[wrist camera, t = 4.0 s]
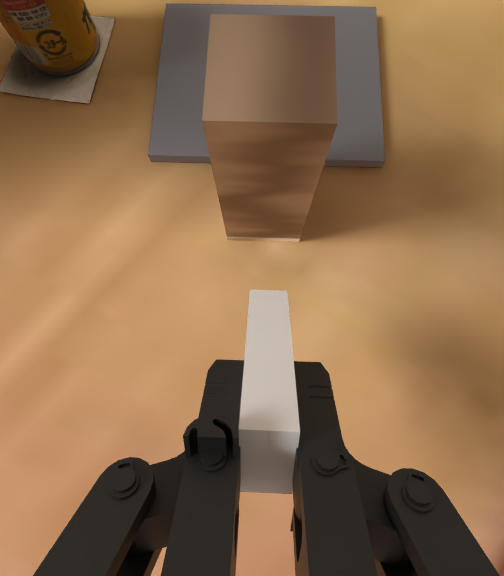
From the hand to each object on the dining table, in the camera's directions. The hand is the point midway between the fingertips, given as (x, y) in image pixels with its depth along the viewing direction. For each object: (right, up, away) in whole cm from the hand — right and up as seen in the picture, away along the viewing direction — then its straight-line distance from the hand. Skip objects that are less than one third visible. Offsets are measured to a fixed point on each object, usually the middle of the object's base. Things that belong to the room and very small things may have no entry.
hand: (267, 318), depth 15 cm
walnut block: (0, +7, +11) cm, 13 cm away
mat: (+1, +17, +13) cm, 22 cm away
